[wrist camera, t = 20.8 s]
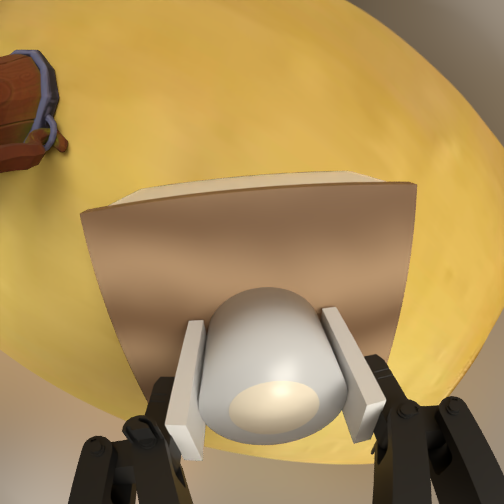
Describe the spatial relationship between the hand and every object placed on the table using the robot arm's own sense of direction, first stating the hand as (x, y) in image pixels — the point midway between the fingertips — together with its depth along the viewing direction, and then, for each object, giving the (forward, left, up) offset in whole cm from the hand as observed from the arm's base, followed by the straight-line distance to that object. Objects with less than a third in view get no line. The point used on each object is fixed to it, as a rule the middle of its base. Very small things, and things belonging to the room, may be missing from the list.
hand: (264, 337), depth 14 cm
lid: (0, 0, -1) cm, 1 cm away
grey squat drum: (0, 0, 0) cm, 0 cm away
